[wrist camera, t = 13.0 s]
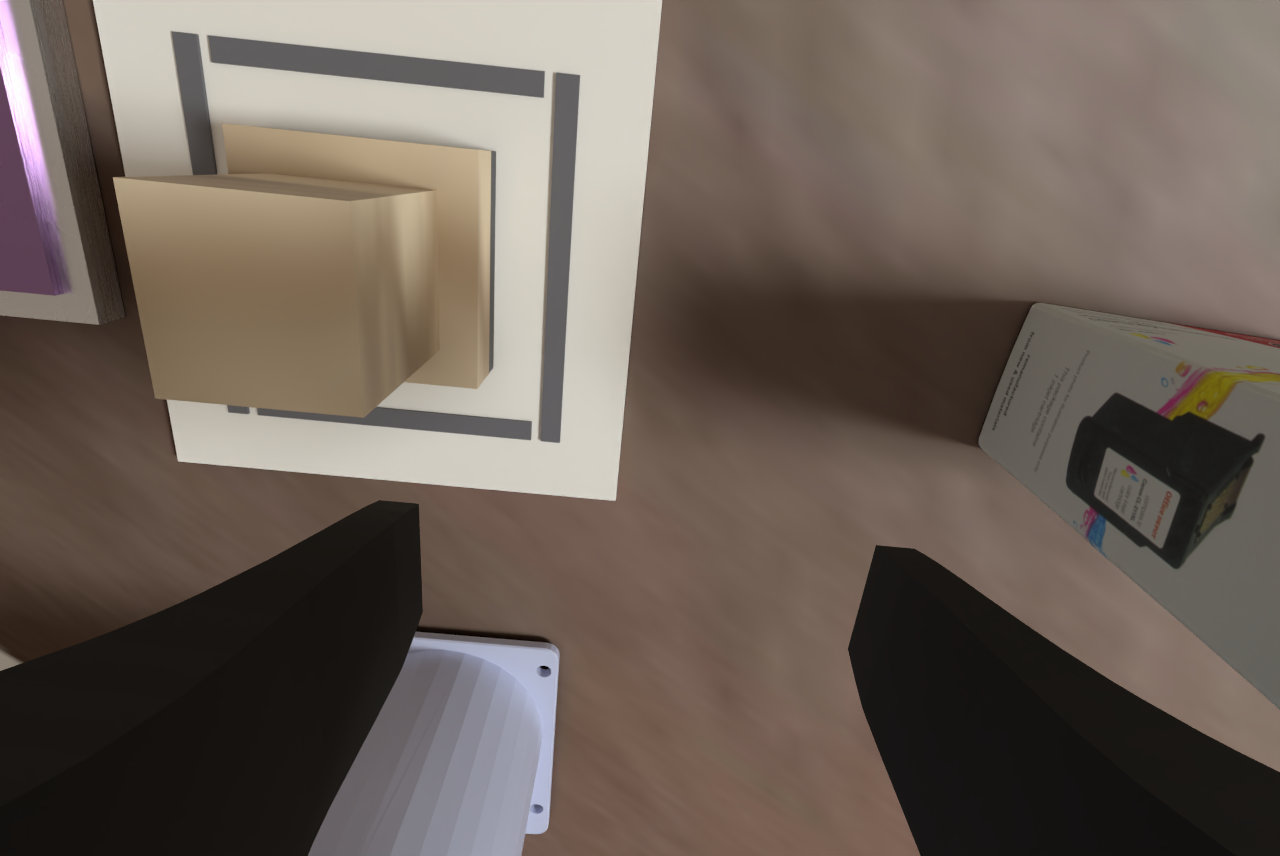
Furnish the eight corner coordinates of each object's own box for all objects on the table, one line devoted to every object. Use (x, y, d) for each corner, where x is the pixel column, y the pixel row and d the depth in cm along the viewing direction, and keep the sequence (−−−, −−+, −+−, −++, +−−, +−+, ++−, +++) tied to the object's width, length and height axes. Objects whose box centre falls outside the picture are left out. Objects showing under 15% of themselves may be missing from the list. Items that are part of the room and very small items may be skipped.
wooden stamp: (493, 367, 20) (417, 468, 13) (291, 348, 19) (112, 441, 13) (496, 151, 17) (405, 143, 11) (267, 127, 17) (38, 105, 11)
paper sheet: (615, 496, 22) (615, 502, 21) (184, 457, 21) (175, 462, 21) (662, -1, 16) (662, -5, 16) (90, -65, 16) (76, -70, 16)
